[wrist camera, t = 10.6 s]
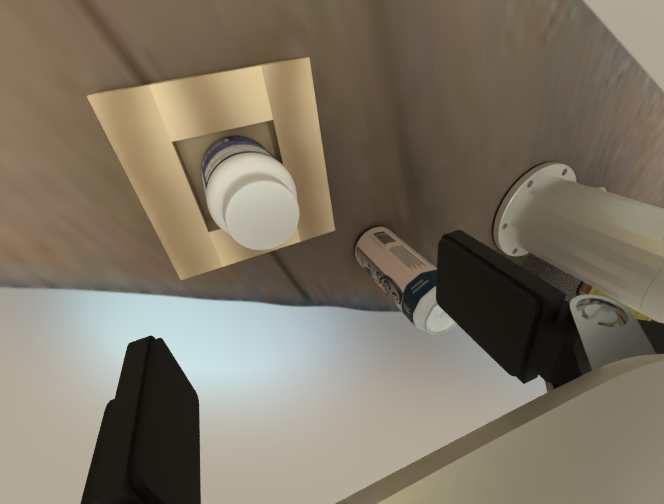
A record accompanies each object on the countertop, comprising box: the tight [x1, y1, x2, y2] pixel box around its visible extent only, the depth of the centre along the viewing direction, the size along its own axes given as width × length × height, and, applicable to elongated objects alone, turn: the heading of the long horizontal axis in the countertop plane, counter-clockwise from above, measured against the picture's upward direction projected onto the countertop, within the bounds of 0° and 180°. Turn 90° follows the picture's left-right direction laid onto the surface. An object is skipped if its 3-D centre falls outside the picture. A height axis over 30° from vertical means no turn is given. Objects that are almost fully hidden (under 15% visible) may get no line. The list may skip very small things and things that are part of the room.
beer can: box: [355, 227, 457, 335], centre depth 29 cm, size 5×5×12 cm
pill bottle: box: [201, 135, 299, 250], centre depth 21 cm, size 5×5×10 cm
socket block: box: [87, 57, 335, 280], centre depth 24 cm, size 13×13×3 cm
